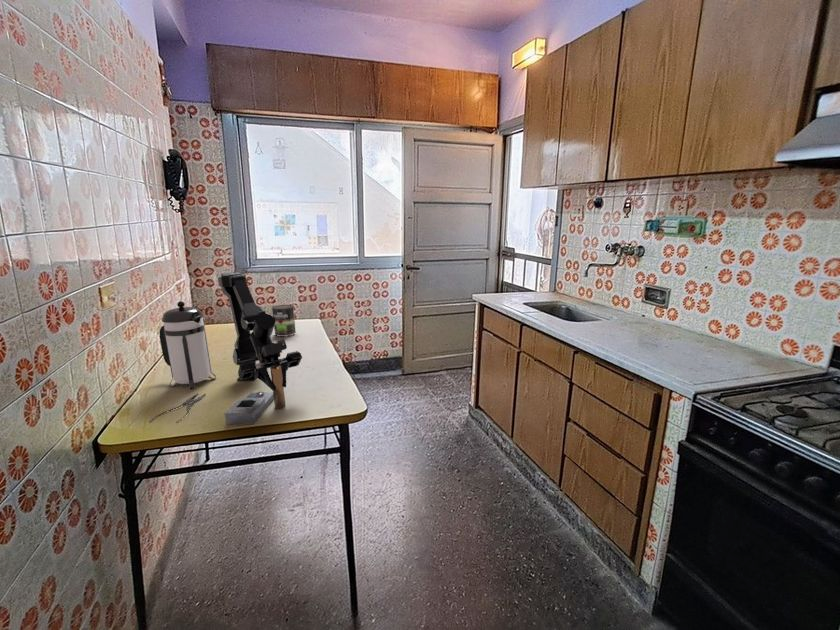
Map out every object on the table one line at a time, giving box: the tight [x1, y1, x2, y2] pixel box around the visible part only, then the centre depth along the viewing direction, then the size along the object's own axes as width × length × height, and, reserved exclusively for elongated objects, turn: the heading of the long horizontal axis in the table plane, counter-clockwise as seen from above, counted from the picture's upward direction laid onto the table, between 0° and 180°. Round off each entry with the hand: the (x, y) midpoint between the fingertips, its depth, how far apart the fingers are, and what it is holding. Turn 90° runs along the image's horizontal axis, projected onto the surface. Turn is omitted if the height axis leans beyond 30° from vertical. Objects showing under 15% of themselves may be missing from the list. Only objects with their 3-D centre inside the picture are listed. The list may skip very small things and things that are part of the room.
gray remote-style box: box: [224, 391, 274, 426], centre depth 129 cm, size 18×8×4 cm, turn 179°
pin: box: [269, 366, 287, 410], centre depth 130 cm, size 3×3×13 cm
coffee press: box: [158, 300, 217, 390], centre depth 149 cm, size 17×16×30 cm
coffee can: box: [271, 304, 297, 337], centre depth 210 cm, size 10×10×14 cm
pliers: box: [148, 393, 207, 423], centre depth 132 cm, size 10×1×20 cm
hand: (279, 388), depth 129 cm, fingers closed on pin, 3 cm apart
